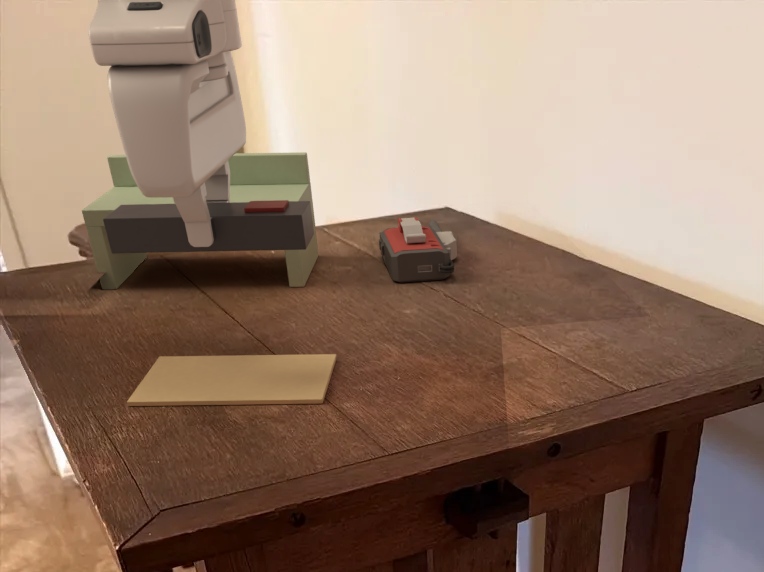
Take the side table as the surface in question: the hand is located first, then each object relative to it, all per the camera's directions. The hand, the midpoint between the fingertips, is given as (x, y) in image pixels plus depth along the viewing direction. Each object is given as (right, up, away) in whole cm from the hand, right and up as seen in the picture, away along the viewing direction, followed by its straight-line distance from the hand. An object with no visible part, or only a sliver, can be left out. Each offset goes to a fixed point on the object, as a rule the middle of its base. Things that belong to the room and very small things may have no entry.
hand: (212, 234), depth 71 cm
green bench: (-9, +10, +33) cm, 35 cm away
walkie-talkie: (+14, +13, +36) cm, 40 cm away
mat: (0, -9, +7) cm, 12 cm away
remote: (0, 0, 0) cm, 1 cm away
